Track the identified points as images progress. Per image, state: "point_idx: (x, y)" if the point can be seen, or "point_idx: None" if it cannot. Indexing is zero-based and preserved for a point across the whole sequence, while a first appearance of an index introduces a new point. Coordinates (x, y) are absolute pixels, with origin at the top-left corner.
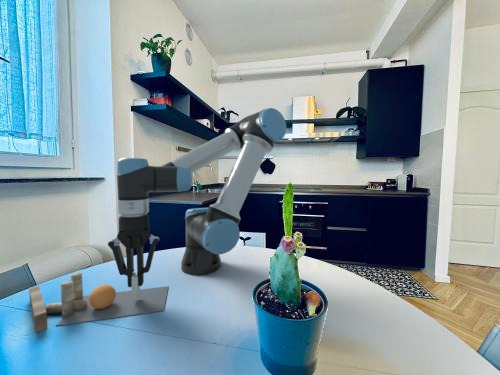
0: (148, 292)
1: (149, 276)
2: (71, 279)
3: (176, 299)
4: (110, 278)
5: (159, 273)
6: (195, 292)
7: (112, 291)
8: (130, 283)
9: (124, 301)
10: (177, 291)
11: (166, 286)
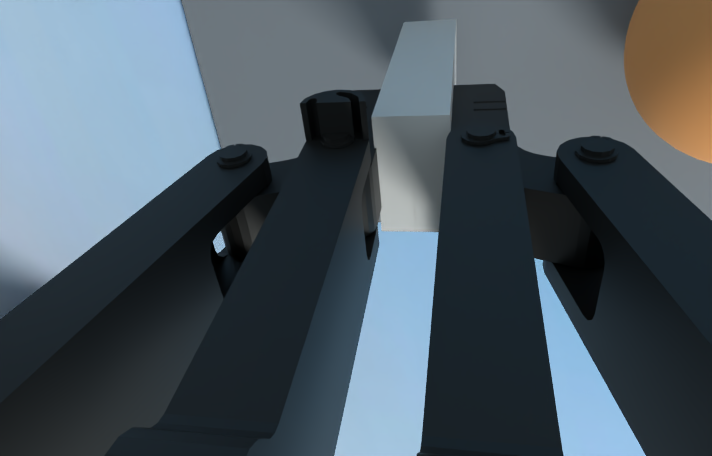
0: None
1: (422, 374)
2: None
3: (110, 21)
4: None
5: (363, 392)
6: (10, 97)
7: (672, 39)
8: (472, 100)
9: (535, 63)
10: (151, 140)
11: None
